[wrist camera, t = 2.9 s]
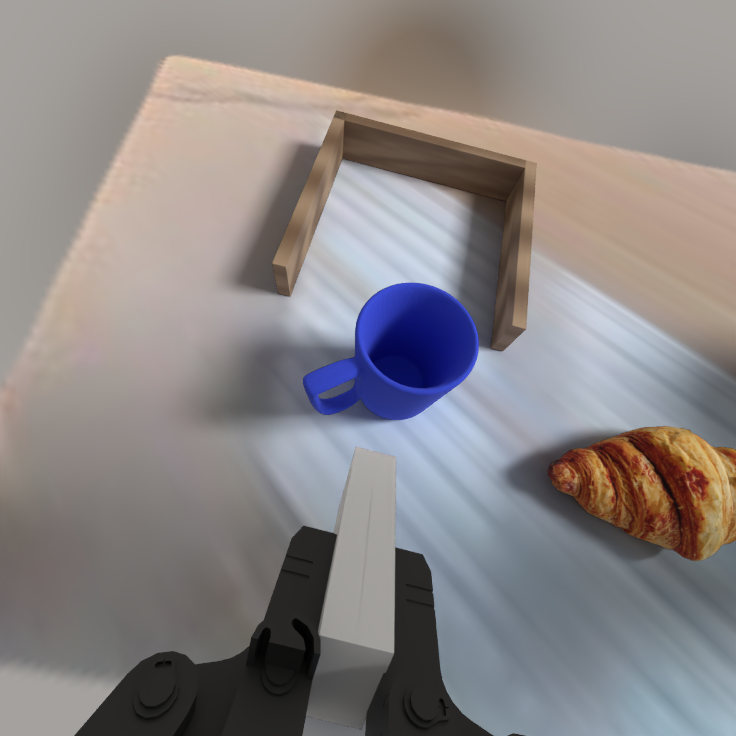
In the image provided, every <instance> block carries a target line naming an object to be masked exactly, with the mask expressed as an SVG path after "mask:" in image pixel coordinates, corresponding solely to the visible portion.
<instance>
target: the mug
mask: <svg viewBox="0 0 736 736" xmlns="http://www.w3.org/2000/svg"><path fill="white" fill-rule="evenodd" d="M478 350H479V339H478V333H477V329H476V327H475V324H474V322H473V320H472V318H471V316H470V314H469V313H468V312H467V310H466V309H465V308H464V306H463V305H462V304H461V303H460V302H459V301H457V300H456V299H455V298H454V297H453V296H451V295H450V294H448V293H446V292H445V291H443V290H441V289H438V288H436V287H433V286H430V285H426V284H421V283H401V284H396V285H392V286H389V287H387V288H384V289H382V290H381V291H379V292H377V293H376V294H375V295H373V296H372V297H371V298H370V299H369V300H368V301H367V302H366V304H365V305H364V306H363V308H362V310H361V311H360V314H359V316H358V319H357V322H356V328H355V357H352V358H349V359H344V360H341V361H337V362H335V363H332V364H330V365H327V366H325V367H322V368H320V369H318V370H315V371H313V372H311V373H309V374H307V375H306V376H305V377H304V378H303V385H304V388H305V391H306V393H307V396H308V398H309V400H310V402H311V404H312V405H313V407H314V408H315V409H316V410H317V411H318V412H319V413H321V414H324V415H330V414H334V413H338V412H340V411H343V410H345V409H347V408H349V407H350V406H352V405H354V404H355V403H356V402H357V401H358V400H359V399H361V400H362V402H363V403H364V404H365V406H366V407H367V408H368V409H369V410H371V411H372V412H373V413H375V414H376V415H378V416H380V417H383V418H386V419H391V420H403V419H408V418H411V417H414V416H416V415H417V414H419V413H421V412H422V411H424V410H425V409H426V408H428V407H429V406H430V405H432V404H433V403H434V402H436V401H437V400H438V399H440V398H441V397H442V396H444V395H445V394H447V393H448V392H449V391H451V390H452V389H453V388H455V387H456V386H457V385H459V384H460V383H461V382H462V381H463V380H464V379H465V378H466V377H467V376H468V375H469V373H470V372H471V371H472V369H473V367H474V365H475V362H476V359H477V356H478ZM354 378H355V384H354V387H353V388H352V389H351V390H349V391H347V392H345V393H343V394H341V395H338V396H336V397H333V398H329V399H321V398H319V397H318V395H319V394H320V393H322V392H325V391H327V390H329V389H331V388H333V387H336V386H338V385H340V384H342V383H345V382H347V381H349V380H351V379H354Z"/></svg>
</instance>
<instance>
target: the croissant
mask: <svg viewBox="0 0 736 736" xmlns="http://www.w3.org/2000/svg"><path fill="white" fill-rule="evenodd" d="M548 476H549V477H550V479H551V480H552V484H553V485H554V486H555V487H556V489H557V490H559V491H561V492H564V493H566V494H569V495H571V496H574V498H575V499H576V500H577V502H578V503H579V504H580V505H581V506H582V507H583V508H584V509H585V510H586V511H587V512H588V513H590V514H592V515H594V516H596V517H598V518H600V519H603V520H605V521H607V522H609V523H612V524H613V525H614V526H615V527H620V528H621V529H623V530H624V531H625V532H626V533H627V534H629V535H631V536H634V537H636V538H639V539H642V540H645V541H648V542H651V543H654V544H657V545H660V546H662V547H664V548H667V549H672V550H674V551H676V552H677V553H678V554H680V555H681V556H682V557H684V558H687V559H690V560H692V561H699V560H705V559H707V558H709V557H710V556H711V555H713V554H714V553H715V552H716V551H717V550H719V548H720V546H721V545H724V544H729V543H732V542H734V541H735V540H736V450H735V449H733V448H726V447H718V448H716V447H713V446H710V445H709V444H708V443H707V442H706V441H705V440H703V439H702V438H700V437H699V436H697V435H695V434H693V433H692V432H691V431H690V430H686V429H684V428H675V427H666V426H662V427H644V428H639V429H635V430H632V431H629V432H625V433H622V434H620V435H618V436H615V437H612V438H609V439H606V440H603V441H600V442H597V443H594V444H593V445H591V446H589V447H586V448H585V449H581V448H578V449H572V450H570V451H568V452H567V453H566V454H565V455H563V456H562V457H561V458H560V459H559V460H557V461H555V462H553V463H551V464H550V466H549V469H548Z"/></svg>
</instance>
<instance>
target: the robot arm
mask: <svg viewBox="0 0 736 736" xmlns="http://www.w3.org/2000/svg"><path fill="white" fill-rule="evenodd" d="M395 513H396V457H394V456H390V455H386V454H382V453H379V452H375V451H371V450H367V449H363V448H359V447H356V448H355V451H354V455H353V458H352V462H351V466H350V469H349V473H348V477H347V480H346V484H345V487H344V491H343V495H342V498H341V502H340V506H339V510H338V515H337V520H336V525H335V529H334V533H330V532H326V531H322V530H318V529H314V528H310V527H307V526H303V527H302V528H301V529H300V530H299V531H298V532H297V533H296V534H295V535H294V536H293V537H292V539H291V542H290V545H289V548H288V551H287V554H286V557H285V560H284V562H283V565H282V568H281V572H280V574H279V577H278V580H277V583H276V586H275V589H274V592H273V595H272V598H271V600H270V603H269V606H268V609H267V612H266V615H265V618H264V621H262V622H261V623H260V624H259V625H258V627H257V629H256V630H255V632H254V634H253V636H252V637H251V642H250V646H249V647H248V648H246V649H245V650H244V651H243V652H242V653H240V654H238V655H236V656H234V657H232V658H230V659H226V660H222V661H217V662H210V663H203V664H196V665H195V664H194V663H193V662H192V661H191V660H190V659H189V658H188V657H187V656H186V655H184V654H180V653H177V652H174V651H171V652H163V653H157V654H155V655H153V656H151V657H149V658H147V659H145V660H143V661H141V662H140V663H139V664H138V665H137V666H136V667H135V668H133V669H132V670H131V671H130V672H129V673H128V674H127V675H126V676H125V677H124V679H123V680H122V681H121V682H120V683H119V684H118V685H117V687H116V688H115V689H114V690H113V691H112V693H111V694H110V695H109V696H108V697H107V698H106V700H105V701H104V702H103V703H102V704H101V705H100V706H99V708H98V709H97V710H96V711H95V712H94V713H93V715H92V716H91V717H90V718H89V719H88V720H87V722H86V723H85V724H84V725H83V726H82V728H81V729H80V730H79V731H78V732H77V733H76V735H75V736H302V734H303V728H304V723H305V718H306V716H307V717H311V718H315V719H319V720H324V721H328V722H332V723H336V724H340V725H345V726H348V727H353V728H357V729H362V727H363V725H364V722H365V720H366V732H365V736H493V735H492V734H490V733H489V732H487V731H486V730H484V729H483V728H481V727H480V726H478V725H477V724H475V723H474V722H472V721H471V720H470V719H468V718H467V717H466V716H465V715H464V714H462V713H461V711H460V710H459V709H458V708H457V707H456V706H455V704H454V703H453V702H452V700H451V698H450V697H449V695H448V693H447V691H446V689H445V686H444V683H443V681H442V676H441V671H440V661H439V651H438V640H437V630H436V619H435V610H434V598H433V594H432V591H433V587H432V577H431V571H430V569H429V567H428V565H427V563H426V560H425V558H424V556H423V554H419V553H415V552H411V551H407V550H403V549H399V548H395ZM508 736H524V735H519V734H514V733H513V734H510V735H508Z"/></svg>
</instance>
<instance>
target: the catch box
mask: <svg viewBox="0 0 736 736" xmlns="http://www.w3.org/2000/svg"><path fill="white" fill-rule="evenodd" d="M342 158H343V159H347V160H350V161H354V162H358V163H362V164H366V165H369V166H373V167H377V168H381V169H385V170H389V171H392V172H396V173H400V174H404V175H408V176H411V177H415V178H419V179H423V180H427V181H430V182H434V183H438V184H442V185H446V186H450V187H453V188H457V189H461V190H465V191H469V192H472V193H476V194H480V195H484V196H488V197H491V198H495V199H499V200H503V201H506V209H505V219H504V228H503V238H502V247H501V257H500V266H499V276H498V285H497V295H496V304H495V313H494V323H493V332H492V342H491V348H492V349H496V350H500V351H504V350H505V349H506V348H507V347H508V346H509V345H510V344H511V343H512V342H513V341H514V340H515V339H516V338H517V337H518V336H519V335H520V334H521V333H522V332H524V331H525V330H526V322H527V306H528V291H529V275H530V259H531V243H532V228H533V212H534V196H535V180H536V165H537V163H534V162H530V161H526V160H522V159H518V158H515V157H511V156H507V155H503V154H499V153H496V152H492V151H488V150H484V149H480V148H477V147H473V146H469V145H465V144H462V143H458V142H454V141H450V140H446V139H443V138H439V137H435V136H431V135H427V134H424V133H420V132H416V131H412V130H408V129H405V128H401V127H397V126H393V125H389V124H386V123H382V122H378V121H374V120H370V119H367V118H363V117H359V116H355V115H352V114H348V113H344V112H340V111H336V113H335V115H334V117H333V120H332V122H331V125H330V127H329V129H328V132H327V134H326V136H325V139H324V141H323V144H322V146H321V148H320V151H319V153H318V155H317V158H316V160H315V163H314V165H313V167H312V170H311V172H310V174H309V177H308V179H307V182H306V184H305V186H304V189H303V191H302V193H301V196H300V198H299V201H298V203H297V205H296V208H295V210H294V213H293V215H292V217H291V220H290V222H289V224H288V227H287V229H286V232H285V234H284V236H283V239H282V241H281V243H280V246H279V248H278V251H277V253H276V255H275V258H274V260H273V262H272V265H273V270H274V275H275V280H276V285H277V290H278V293H279V294H282V295H286V296H291V293H292V291H293V288H294V285H295V283H296V280H297V278H298V275H299V272H300V270H301V267H302V264H303V262H304V259H305V256H306V254H307V251H308V248H309V246H310V243H311V240H312V238H313V235H314V233H315V230H316V227H317V225H318V222H319V219H320V217H321V214H322V211H323V209H324V206H325V203H326V201H327V198H328V196H329V193H330V190H331V188H332V185H333V182H334V180H335V177H336V174H337V172H338V169H339V166H340V164H341V161H342Z"/></svg>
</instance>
